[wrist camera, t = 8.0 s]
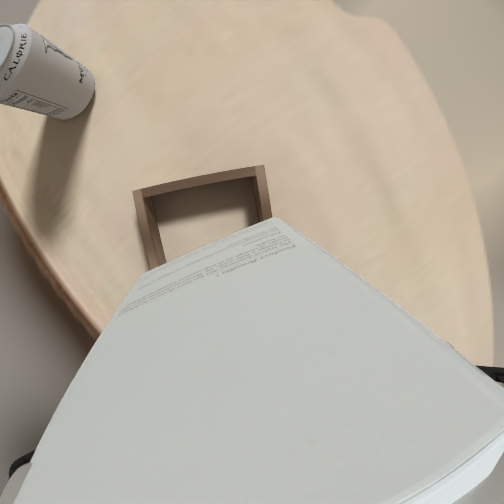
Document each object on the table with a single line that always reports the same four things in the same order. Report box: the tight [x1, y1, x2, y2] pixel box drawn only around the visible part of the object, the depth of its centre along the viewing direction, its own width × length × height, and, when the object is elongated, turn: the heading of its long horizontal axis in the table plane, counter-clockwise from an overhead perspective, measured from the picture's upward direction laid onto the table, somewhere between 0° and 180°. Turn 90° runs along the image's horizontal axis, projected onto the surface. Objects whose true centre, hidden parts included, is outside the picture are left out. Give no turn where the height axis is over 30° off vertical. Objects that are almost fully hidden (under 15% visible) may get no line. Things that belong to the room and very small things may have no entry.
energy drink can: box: [0, 24, 95, 120], centre depth 16 cm, size 6×6×15 cm
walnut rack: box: [132, 165, 272, 270], centre depth 29 cm, size 22×12×4 cm, turn 9°
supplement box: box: [13, 217, 504, 504], centre depth 8 cm, size 7×7×13 cm
